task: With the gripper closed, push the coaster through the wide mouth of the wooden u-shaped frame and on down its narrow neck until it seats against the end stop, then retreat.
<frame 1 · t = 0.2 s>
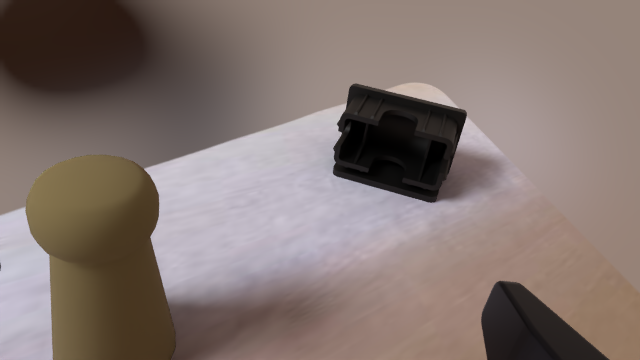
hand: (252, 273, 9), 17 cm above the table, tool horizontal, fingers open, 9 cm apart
cork: (117, 348, 27), on the table
end cap: (389, 171, 45), on the table
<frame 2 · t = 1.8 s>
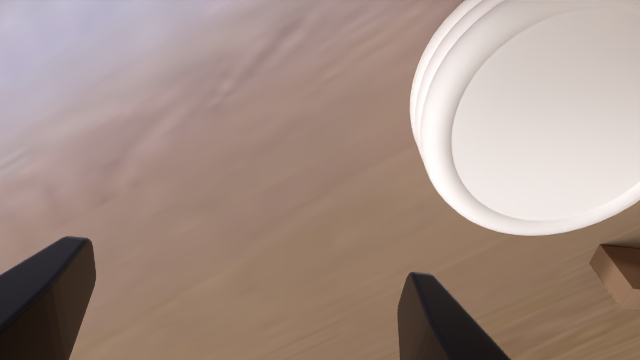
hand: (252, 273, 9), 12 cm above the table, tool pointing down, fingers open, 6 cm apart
coaster: (529, 88, 21), on the table
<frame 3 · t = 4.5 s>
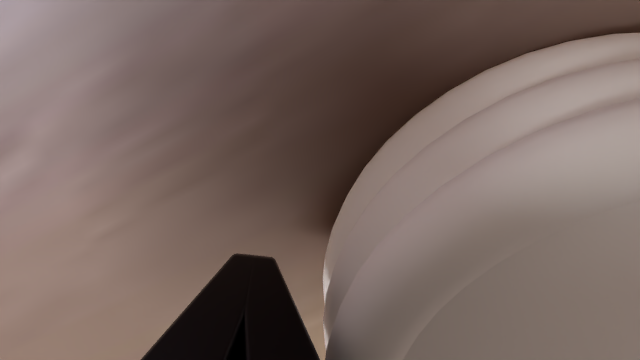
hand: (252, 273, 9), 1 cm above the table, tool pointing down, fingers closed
coaster: (555, 254, 11), on the table, touching gripper
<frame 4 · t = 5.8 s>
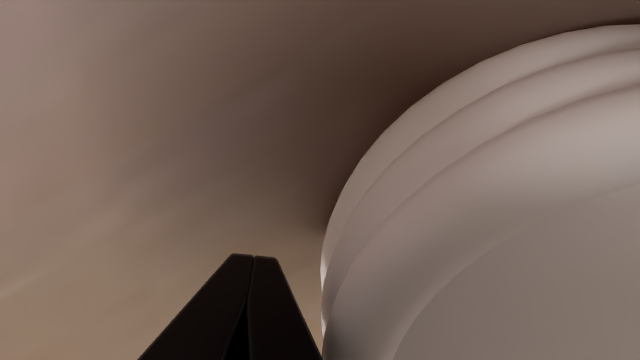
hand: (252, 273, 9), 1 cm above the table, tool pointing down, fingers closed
coaster: (549, 245, 11), on the table, touching gripper
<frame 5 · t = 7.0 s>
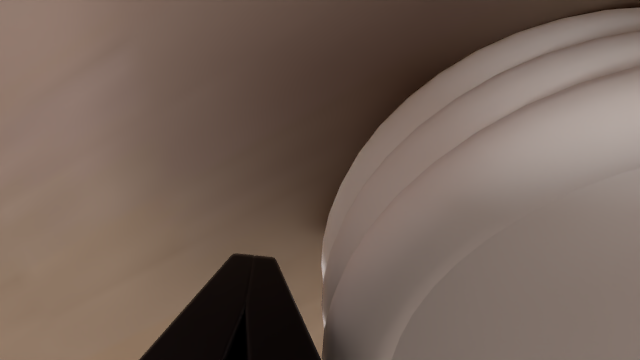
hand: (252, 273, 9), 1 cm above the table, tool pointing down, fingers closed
coaster: (553, 236, 11), on the table, touching gripper
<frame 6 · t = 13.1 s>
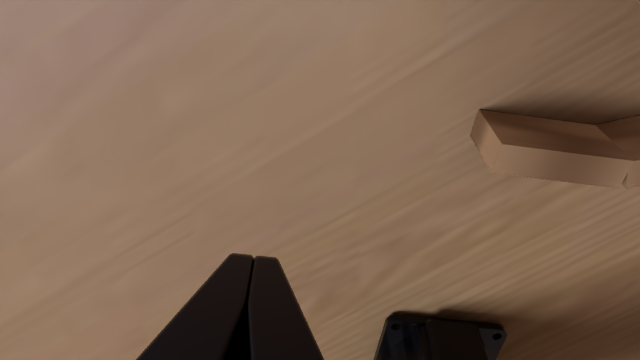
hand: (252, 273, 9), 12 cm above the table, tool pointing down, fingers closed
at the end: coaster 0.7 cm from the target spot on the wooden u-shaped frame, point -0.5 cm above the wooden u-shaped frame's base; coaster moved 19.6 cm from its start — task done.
